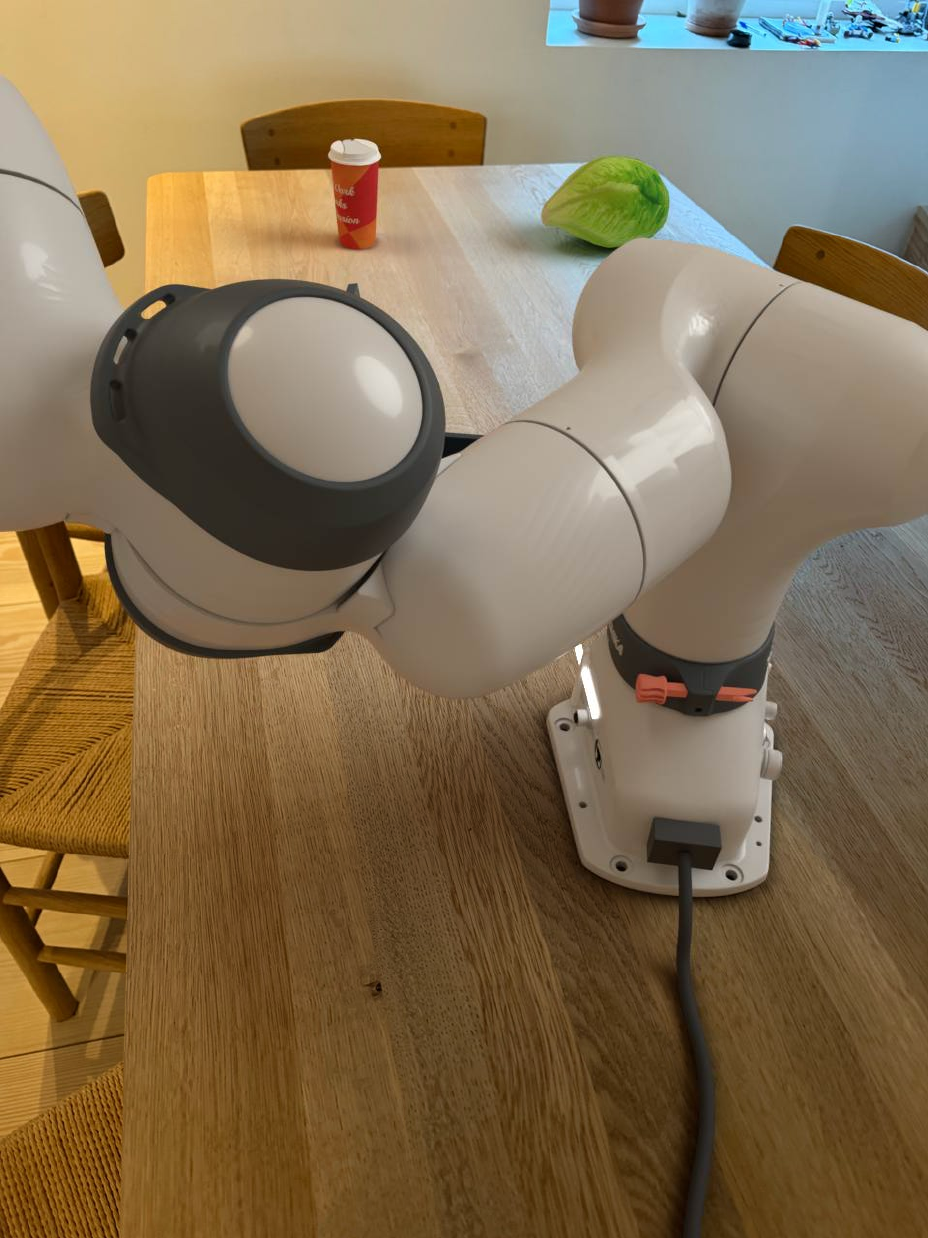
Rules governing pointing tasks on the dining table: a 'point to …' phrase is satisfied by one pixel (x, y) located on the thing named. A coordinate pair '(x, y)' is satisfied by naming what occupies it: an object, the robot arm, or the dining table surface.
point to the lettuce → (610, 202)
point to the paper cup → (355, 191)
